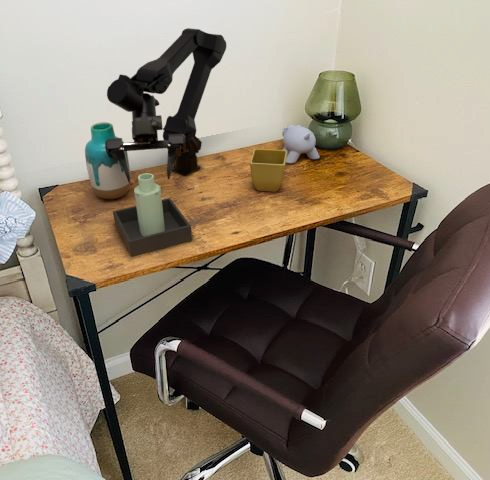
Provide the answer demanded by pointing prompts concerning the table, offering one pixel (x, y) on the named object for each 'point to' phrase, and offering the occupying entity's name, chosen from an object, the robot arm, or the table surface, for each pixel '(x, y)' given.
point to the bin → (138, 244)
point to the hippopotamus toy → (299, 143)
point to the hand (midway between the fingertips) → (148, 180)
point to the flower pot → (267, 169)
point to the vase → (105, 164)
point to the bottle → (149, 205)
